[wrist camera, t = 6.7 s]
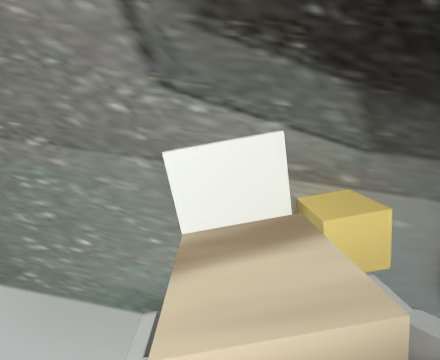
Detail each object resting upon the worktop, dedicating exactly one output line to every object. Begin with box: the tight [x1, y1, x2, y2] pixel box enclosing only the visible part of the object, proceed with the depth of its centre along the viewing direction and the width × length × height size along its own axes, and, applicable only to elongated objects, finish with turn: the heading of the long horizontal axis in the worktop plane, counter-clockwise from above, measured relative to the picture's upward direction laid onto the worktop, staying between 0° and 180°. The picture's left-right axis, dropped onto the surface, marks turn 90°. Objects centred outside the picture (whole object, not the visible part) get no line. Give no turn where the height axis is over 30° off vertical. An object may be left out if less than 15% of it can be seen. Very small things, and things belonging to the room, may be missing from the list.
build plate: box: [162, 131, 292, 235], centre depth 19 cm, size 10×10×1 cm
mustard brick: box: [297, 189, 392, 273], centre depth 18 cm, size 5×5×5 cm
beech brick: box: [148, 213, 410, 360], centre depth 7 cm, size 5×5×5 cm
